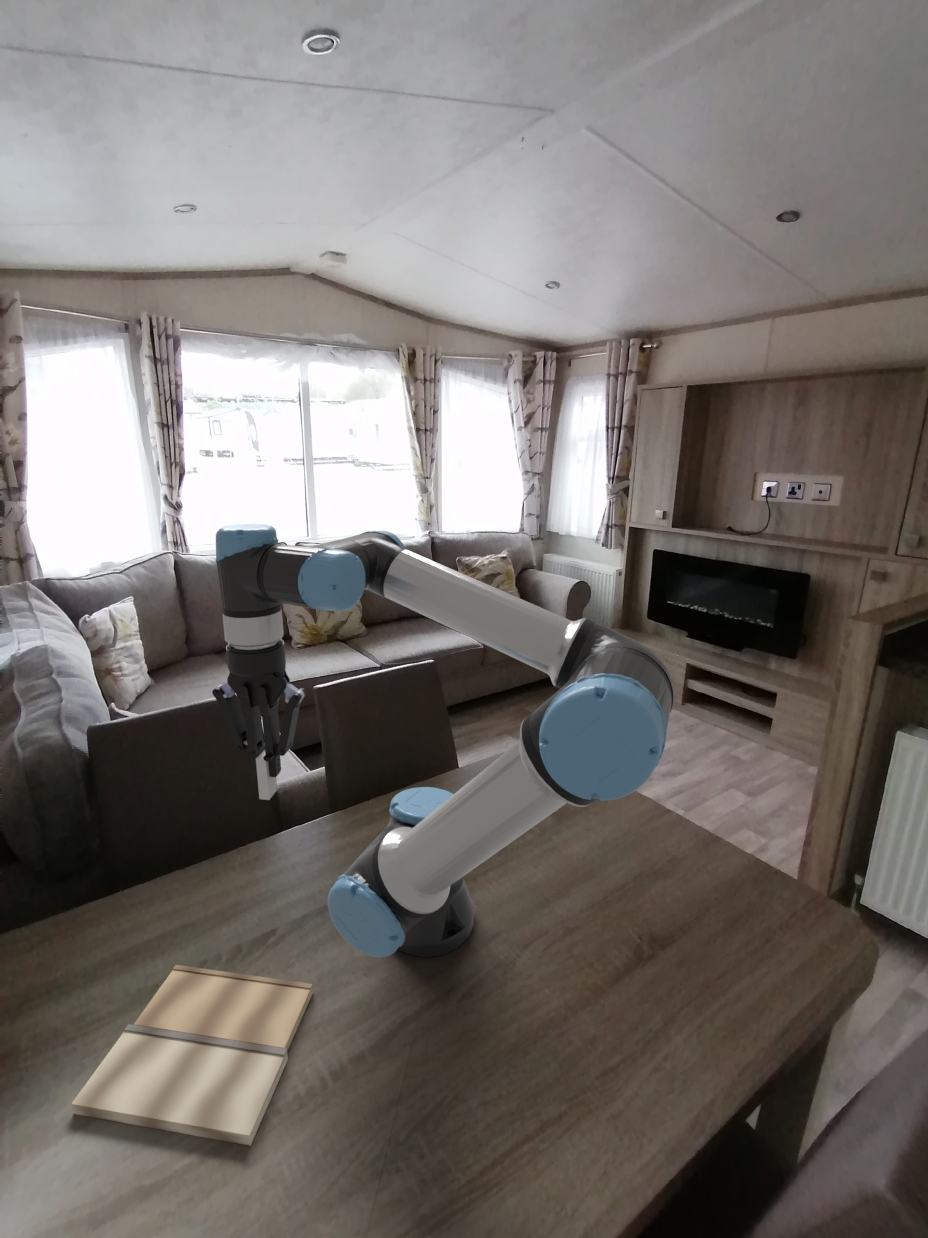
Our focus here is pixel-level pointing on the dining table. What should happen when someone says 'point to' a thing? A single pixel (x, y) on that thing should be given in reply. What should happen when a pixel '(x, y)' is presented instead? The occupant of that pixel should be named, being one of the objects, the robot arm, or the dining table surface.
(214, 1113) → the laid board
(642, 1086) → the dining table surface
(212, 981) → the plank
